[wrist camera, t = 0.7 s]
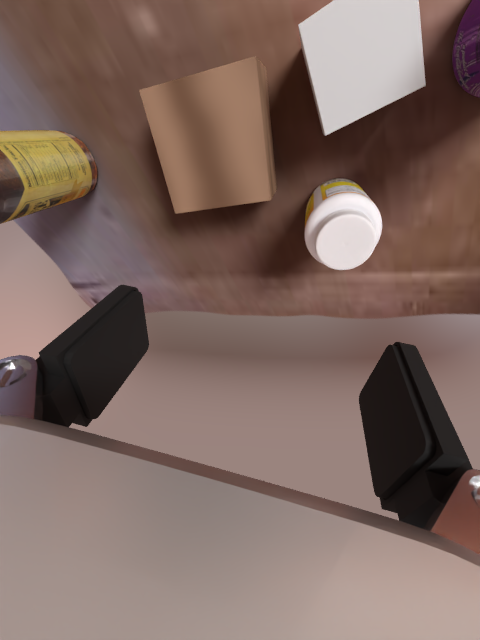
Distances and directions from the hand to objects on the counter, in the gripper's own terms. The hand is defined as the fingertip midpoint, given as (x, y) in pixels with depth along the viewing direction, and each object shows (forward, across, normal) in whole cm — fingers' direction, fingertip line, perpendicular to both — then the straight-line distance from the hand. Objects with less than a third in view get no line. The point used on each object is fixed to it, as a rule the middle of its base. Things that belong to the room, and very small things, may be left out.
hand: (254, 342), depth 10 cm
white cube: (+22, -2, -10) cm, 24 cm away
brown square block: (+22, +7, -5) cm, 23 cm away
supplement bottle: (+22, -4, -1) cm, 22 cm away
